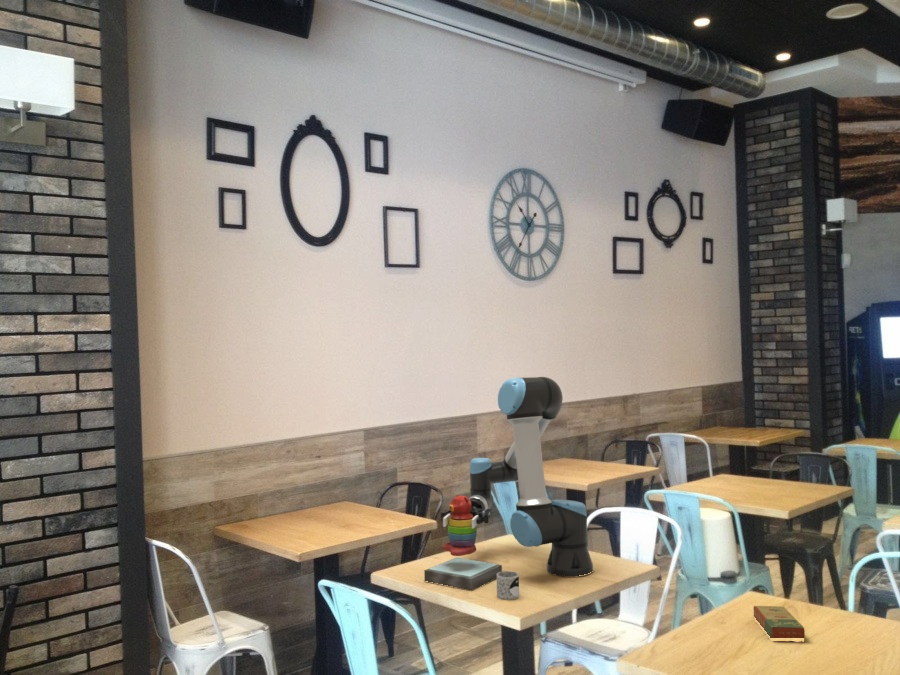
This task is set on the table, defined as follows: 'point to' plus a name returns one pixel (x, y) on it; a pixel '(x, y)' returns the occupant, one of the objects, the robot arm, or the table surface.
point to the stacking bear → (461, 528)
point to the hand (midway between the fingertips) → (458, 523)
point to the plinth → (463, 573)
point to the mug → (508, 585)
